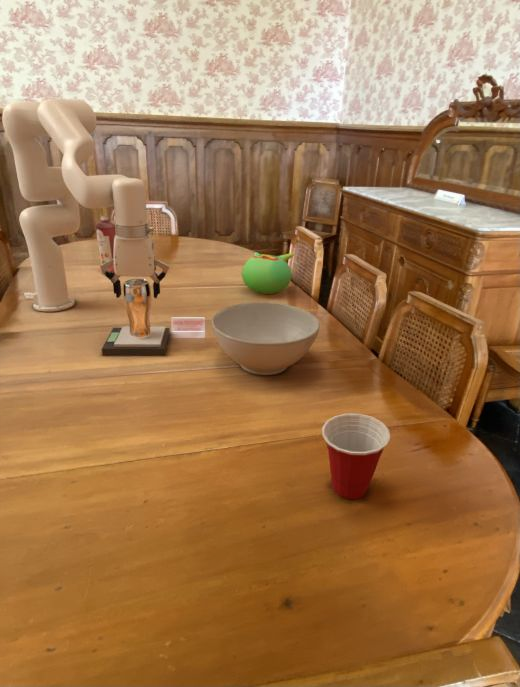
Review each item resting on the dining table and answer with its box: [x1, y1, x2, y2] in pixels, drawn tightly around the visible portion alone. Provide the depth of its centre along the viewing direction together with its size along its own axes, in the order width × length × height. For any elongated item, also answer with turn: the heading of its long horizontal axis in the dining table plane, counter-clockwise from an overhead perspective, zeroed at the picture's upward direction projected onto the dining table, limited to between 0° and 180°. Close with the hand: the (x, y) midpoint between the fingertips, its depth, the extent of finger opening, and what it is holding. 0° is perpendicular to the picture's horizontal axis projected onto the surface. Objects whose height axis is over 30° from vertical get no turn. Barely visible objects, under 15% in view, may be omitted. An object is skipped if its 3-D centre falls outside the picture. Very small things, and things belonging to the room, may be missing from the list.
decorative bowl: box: [210, 301, 321, 376], centre depth 119 cm, size 27×27×12 cm
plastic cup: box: [321, 412, 391, 500], centre depth 78 cm, size 11×11×12 cm
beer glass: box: [122, 278, 152, 339], centre depth 125 cm, size 7×7×15 cm
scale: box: [101, 325, 171, 356], centre depth 129 cm, size 16×14×3 cm
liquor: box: [95, 207, 117, 275], centre depth 183 cm, size 7×7×28 cm
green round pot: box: [241, 252, 295, 295], centre depth 170 cm, size 18×17×15 cm
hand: (137, 296), depth 124 cm, fingers open, 9 cm apart
